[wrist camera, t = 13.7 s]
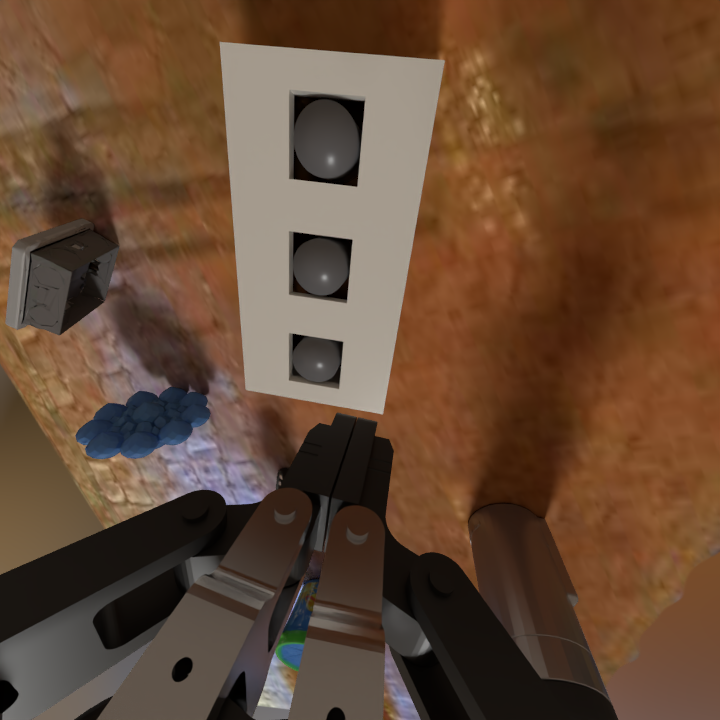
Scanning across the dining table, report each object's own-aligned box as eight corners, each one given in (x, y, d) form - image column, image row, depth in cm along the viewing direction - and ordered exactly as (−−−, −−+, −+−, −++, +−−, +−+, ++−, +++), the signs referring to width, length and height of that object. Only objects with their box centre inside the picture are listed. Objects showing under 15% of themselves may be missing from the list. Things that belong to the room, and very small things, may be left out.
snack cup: (274, 575, 57) (248, 644, 48) (309, 556, 53) (288, 628, 44) (336, 616, 61) (323, 688, 52) (374, 601, 56) (366, 677, 47)
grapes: (149, 411, 43) (64, 478, 33) (138, 368, 40) (39, 428, 30) (228, 425, 42) (167, 499, 32) (223, 383, 39) (153, 449, 28)
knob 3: (350, 324, 32) (340, 343, 28) (346, 362, 34) (336, 385, 30) (308, 318, 32) (292, 336, 28) (307, 355, 34) (292, 377, 30)
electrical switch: (88, 215, 32) (-12, 227, 24) (137, 246, 33) (58, 267, 25) (73, 287, 36) (-16, 318, 28) (118, 312, 37) (44, 348, 29)
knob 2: (358, 236, 28) (348, 243, 24) (353, 285, 30) (343, 299, 26) (311, 230, 28) (292, 235, 24) (309, 278, 31) (292, 291, 26)
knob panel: (437, 92, 24) (444, 60, 18) (387, 382, 36) (382, 414, 30) (260, 76, 25) (219, 42, 19) (269, 363, 37) (245, 389, 31)
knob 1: (369, 121, 24) (360, 102, 20) (363, 185, 26) (353, 181, 22) (315, 115, 25) (293, 96, 20) (313, 179, 27) (293, 174, 22)
